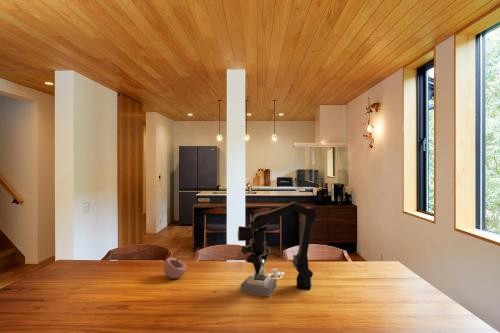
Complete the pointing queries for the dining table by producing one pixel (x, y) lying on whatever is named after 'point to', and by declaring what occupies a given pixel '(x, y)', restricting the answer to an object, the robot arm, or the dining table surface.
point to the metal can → (261, 273)
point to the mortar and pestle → (174, 267)
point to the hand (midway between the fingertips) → (259, 272)
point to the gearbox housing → (259, 285)
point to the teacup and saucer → (276, 273)
